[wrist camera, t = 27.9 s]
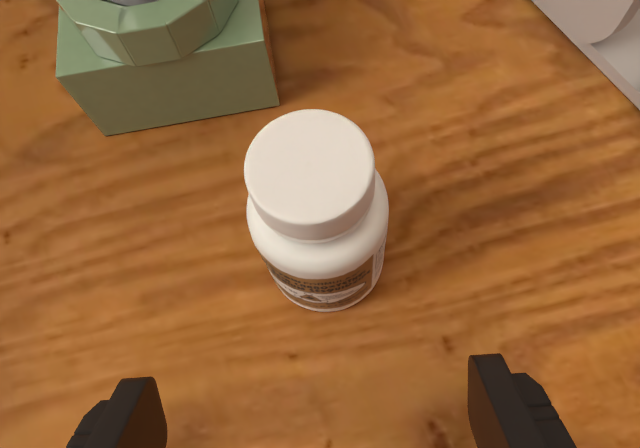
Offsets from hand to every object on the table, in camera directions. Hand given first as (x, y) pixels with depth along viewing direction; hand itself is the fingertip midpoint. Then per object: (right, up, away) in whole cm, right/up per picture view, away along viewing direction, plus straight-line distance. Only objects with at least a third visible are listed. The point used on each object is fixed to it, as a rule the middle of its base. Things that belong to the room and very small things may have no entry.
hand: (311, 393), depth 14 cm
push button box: (-6, +14, +13) cm, 20 cm away
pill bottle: (0, +3, +8) cm, 8 cm away
